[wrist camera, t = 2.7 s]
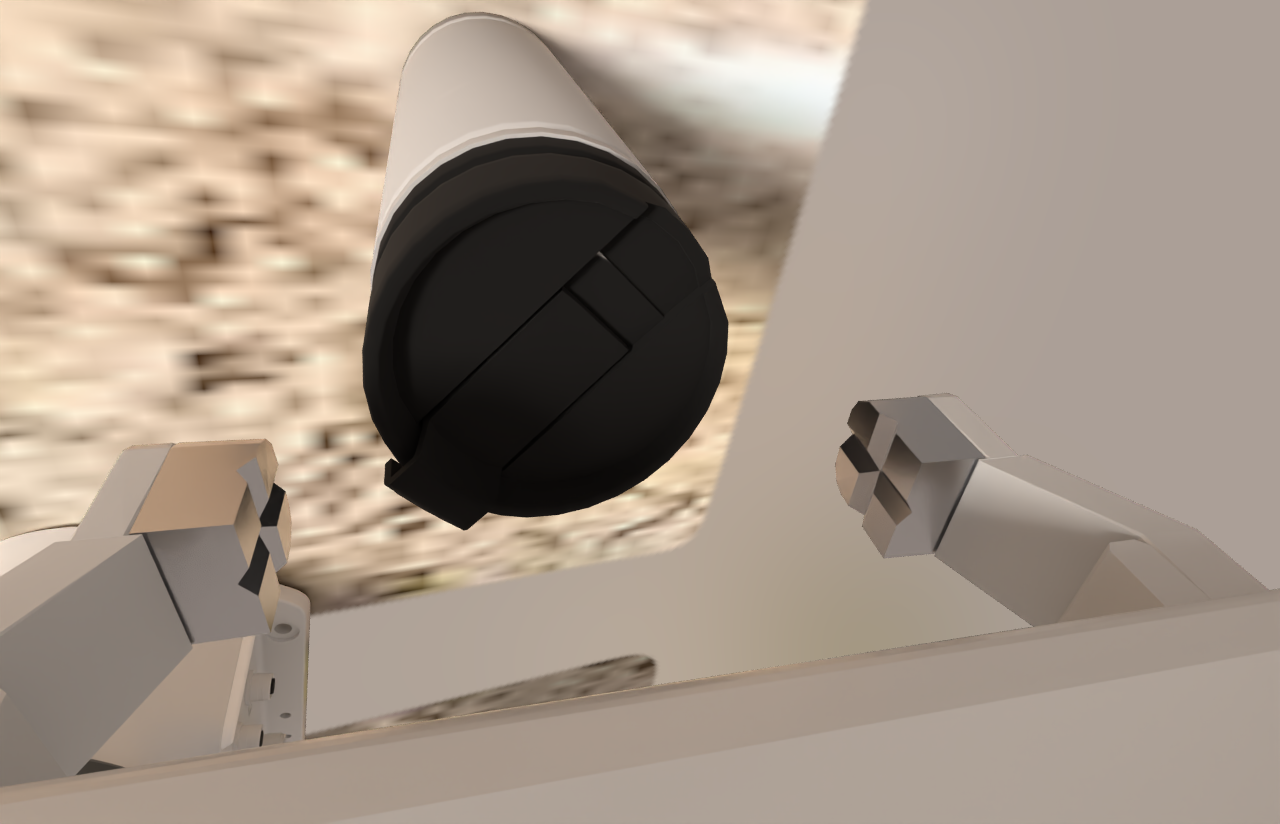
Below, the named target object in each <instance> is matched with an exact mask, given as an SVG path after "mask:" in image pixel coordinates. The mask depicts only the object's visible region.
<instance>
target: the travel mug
mask: <svg viewBox="0 0 1280 824" xmlns="http://www.w3.org/2000/svg"><path fill="white" fill-rule="evenodd" d="M727 342H728V320H727V317H726V313H725V310H724V307H723V304H722V301H721V298H720V295H719V292H718V289H717V286H716V283H715V281H714V280H713V279H712V278H711V273H710V266H709V259H708V257H707V255H706V254H705V252H704V251H703V249H702V248H701V246H700V245H699V243H698V242H697V240H696V239H695V238H694V236H693V235H692V233H691V232H690V230H689V229H688V228H687V226H686V225H685V224H684V222H683V221H682V220H681V218H680V217H679V216H678V214H677V212H676V210H675V209H674V207H673V206H672V204H671V203H670V202H669V200H668V199H667V197H666V196H665V194H664V193H663V191H662V190H661V188H660V187H659V186H658V184H657V183H656V182H655V181H654V180H653V179H652V177H651V176H650V175H649V173H648V172H647V171H646V169H645V168H644V167H643V166H642V164H641V163H640V162H639V161H638V159H637V158H636V157H635V156H634V154H633V153H632V152H631V151H630V150H629V148H628V147H627V146H626V145H625V143H624V142H623V141H622V140H621V138H620V137H619V136H618V135H617V133H616V132H615V131H614V130H613V128H612V127H611V126H610V125H609V123H608V122H607V121H606V120H605V118H604V117H603V116H602V115H601V113H600V112H599V111H598V110H597V108H596V107H595V106H594V105H593V104H592V102H591V101H590V100H589V99H588V97H587V96H586V95H585V94H584V92H583V91H582V90H581V89H580V87H579V86H578V85H577V84H576V82H575V81H574V80H573V79H572V77H571V76H570V75H569V74H568V72H567V71H566V70H565V69H564V67H563V66H562V65H561V64H560V63H559V61H558V60H557V59H556V58H555V56H554V55H553V54H552V53H551V51H550V50H549V49H548V48H547V46H546V45H545V44H544V43H543V42H542V41H541V40H540V39H539V38H538V37H537V36H536V35H535V34H534V33H533V32H531V31H530V30H528V29H527V28H525V27H524V26H522V25H521V24H519V23H518V22H516V21H513V20H511V19H509V18H506V17H504V16H501V15H496V14H491V13H485V12H473V13H463V14H459V15H455V16H452V17H448V18H447V19H445V20H443V21H441V22H439V23H437V24H435V25H433V26H432V27H431V28H430V29H429V30H428V31H427V32H425V33H424V34H423V35H422V36H421V37H420V38H419V40H418V41H417V42H416V44H415V45H414V46H413V48H412V49H411V51H410V53H409V55H408V57H407V60H406V62H405V64H404V66H403V71H402V75H401V80H400V86H399V93H398V98H397V105H396V111H395V118H394V124H393V131H392V137H391V143H390V150H389V156H388V163H387V169H386V176H385V182H384V188H383V195H382V201H381V208H380V214H379V221H378V227H377V233H376V240H375V246H374V253H373V260H372V265H371V296H370V302H369V309H368V316H367V323H366V330H365V336H364V343H363V350H362V356H363V387H364V391H365V395H366V399H367V402H368V406H369V410H370V414H371V417H372V420H373V422H374V424H375V426H376V428H377V430H378V431H379V433H380V435H381V437H382V439H383V441H384V443H385V444H386V445H387V447H388V448H389V449H390V451H391V452H392V454H393V455H394V456H395V458H396V459H397V461H398V462H399V463H398V462H396V461H395V460H393V459H390V460H389V461H388V462H387V463H386V464H385V478H384V484H385V485H386V486H387V487H389V488H390V489H392V490H393V491H395V492H396V493H397V494H399V495H400V496H402V497H404V498H405V499H407V500H408V501H410V502H412V503H413V504H415V505H417V506H418V507H420V508H422V509H423V510H425V511H427V512H429V513H431V514H433V515H435V516H437V517H438V518H440V519H442V520H444V521H446V522H448V523H450V524H452V525H454V526H456V527H458V528H460V529H462V530H468V529H469V528H470V527H471V526H472V525H474V524H475V523H476V522H477V521H478V520H479V519H481V518H482V517H483V516H484V515H485V514H487V513H488V512H489V513H493V514H498V515H503V516H515V517H538V516H551V515H560V514H564V513H568V512H572V511H576V510H581V509H585V508H589V507H591V506H594V505H596V504H599V503H601V502H604V501H606V500H609V499H611V498H614V497H616V496H618V495H620V494H622V493H623V492H625V491H627V490H628V489H630V488H632V487H634V486H635V485H637V484H639V483H640V482H642V481H644V480H645V479H646V478H648V477H649V476H650V475H651V474H653V473H654V472H655V471H656V470H658V469H659V468H660V467H661V466H663V465H664V464H665V463H666V462H667V461H669V460H670V459H671V457H672V456H673V455H674V454H675V453H676V452H677V451H678V450H679V449H680V448H681V447H682V445H683V444H684V443H685V442H686V441H687V440H688V439H689V438H690V436H691V435H692V433H693V432H694V430H695V429H696V427H697V426H698V424H699V423H700V421H701V420H702V418H703V417H704V415H705V414H706V412H707V410H708V408H709V406H710V404H711V401H712V399H713V397H714V395H715V392H716V390H717V388H718V386H719V383H720V380H721V375H722V371H723V367H724V363H725V359H726V355H727Z"/></svg>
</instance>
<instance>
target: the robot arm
mask: <svg viewBox="0 0 1280 824" xmlns="http://www.w3.org/2000/svg"><path fill="white" fill-rule="evenodd" d="M847 424H848V426H849V428H850V430H851V432H852V435H851V436H850V437H849V438H848V439H847V440H846V441H845V443H843V444H842V445H841V446H840V448H839V452H838V456H837V460H836V463H835V467H836V481H837V484H838V487H839V490H840V493H841V495H842V497H843V498H844V499H845V501H846V503H847V504H848V506H850V507H852V508H853V509H855V510H857V511H859V512H860V513H862V514H864V519H863V524H862V527H863V528H864V530H865V531H866V533H867V534H868V536H869V537H870V539H871V540H872V542H873V543H874V545H875V546H876V548H877V549H878V551H879V552H880V554H881V555H882V557H883V558H891V557H902V556H912V555H923V554H934V553H935V557H937V558H938V559H939V560H941V561H942V562H943V563H945V564H946V565H948V566H949V567H950V568H952V569H953V570H955V571H956V572H957V573H959V574H960V575H962V576H963V577H965V578H966V579H967V580H969V581H970V582H971V583H973V584H974V585H976V586H977V587H979V588H980V589H981V590H983V591H984V592H986V593H987V594H988V595H990V596H991V597H993V598H994V599H995V600H997V601H998V602H1000V603H1001V604H1003V605H1004V606H1005V607H1007V608H1008V609H1009V610H1011V611H1012V612H1014V613H1015V614H1017V615H1018V616H1019V617H1021V618H1022V619H1024V620H1025V621H1026V622H1028V623H1029V624H1030V625H1032V626H1033V627H1028V628H1022V629H1015V630H1010V631H1002V632H997V633H989V634H983V635H977V636H971V637H964V638H957V639H951V640H945V641H939V642H931V643H925V644H918V645H913V646H906V647H900V648H893V649H886V650H880V651H873V652H867V653H861V654H854V655H848V656H841V657H835V658H828V659H822V660H815V661H809V662H802V663H797V664H790V665H783V666H777V667H771V668H764V669H757V670H751V671H745V672H738V673H731V674H725V675H719V676H713V677H706V678H699V679H694V680H687V681H680V682H674V683H667V684H661V685H654V686H648V687H641V688H635V689H628V690H622V691H616V692H609V693H603V694H596V695H590V696H583V697H577V698H570V699H564V700H558V701H551V702H545V703H538V704H532V705H525V706H519V707H512V708H506V709H500V710H493V711H487V712H480V713H474V714H467V715H461V716H455V717H448V718H442V719H435V720H429V721H422V722H416V723H409V724H403V725H397V726H390V727H384V728H377V729H371V730H364V731H358V732H352V733H345V734H339V735H332V736H326V737H319V738H313V739H306V740H304V739H305V728H306V703H307V679H308V654H309V629H310V600H309V598H308V597H307V596H306V595H305V594H304V593H302V592H300V591H298V590H296V589H293V588H291V587H287V586H284V585H281V584H279V582H278V579H277V575H276V572H277V571H278V570H279V569H281V568H282V567H283V566H284V565H285V564H286V563H287V561H288V556H289V551H290V546H291V524H292V523H291V515H290V507H289V503H288V499H287V495H286V491H284V490H283V489H282V488H280V487H279V486H278V485H276V484H275V483H273V482H274V478H275V475H276V471H277V467H278V462H277V459H276V456H275V453H274V450H273V446H272V444H271V443H270V442H269V441H268V440H267V439H250V440H227V441H205V442H183V443H178V444H174V443H166V444H150V445H134V446H131V447H129V448H127V449H125V450H123V451H122V452H121V453H120V455H119V457H118V459H117V460H116V462H115V464H114V465H113V467H112V469H111V471H110V472H109V474H108V476H107V478H106V479H105V481H104V483H103V484H102V486H101V488H100V490H99V491H98V493H97V495H96V497H95V498H94V500H93V502H92V503H91V505H90V507H89V509H88V510H87V512H86V514H85V516H84V517H83V519H82V521H81V522H80V524H79V526H78V527H65V528H54V529H46V530H40V531H34V532H30V533H25V534H21V535H18V536H14V537H10V538H7V539H5V540H2V541H0V824H1280V589H1273V590H1269V589H1267V588H1266V587H1265V586H1264V585H1263V584H1261V583H1260V582H1259V581H1258V580H1257V579H1255V578H1254V577H1253V576H1252V575H1251V574H1250V573H1248V572H1247V571H1246V570H1245V569H1244V568H1242V567H1241V566H1240V565H1239V564H1238V563H1236V562H1235V561H1234V560H1233V559H1232V558H1231V557H1230V556H1228V555H1227V554H1226V553H1225V552H1224V551H1222V550H1221V549H1220V548H1219V547H1218V546H1216V545H1215V544H1214V543H1213V542H1212V541H1211V540H1209V539H1208V538H1207V537H1206V536H1205V535H1203V534H1202V533H1201V532H1200V531H1199V530H1197V529H1195V528H1193V527H1190V526H1188V525H1186V524H1184V523H1181V522H1179V521H1177V520H1174V519H1172V518H1170V517H1168V516H1165V515H1163V514H1161V513H1159V512H1156V511H1154V510H1152V509H1150V508H1147V507H1145V506H1143V505H1140V504H1138V503H1136V502H1134V501H1131V500H1129V499H1127V498H1124V497H1122V496H1120V495H1118V494H1115V493H1113V492H1111V491H1109V490H1106V489H1104V488H1102V487H1099V486H1097V485H1095V484H1093V483H1090V482H1088V481H1085V480H1083V479H1081V478H1079V477H1077V476H1074V475H1072V474H1070V473H1068V472H1065V471H1063V470H1061V469H1058V468H1056V467H1054V466H1052V465H1049V464H1047V463H1045V462H1042V461H1040V460H1038V459H1035V458H1033V457H1031V456H1028V455H1023V456H1019V455H1018V454H1016V453H1015V452H1014V450H1012V449H1011V448H1010V447H1009V446H1008V445H1007V444H1006V443H1005V442H1004V441H1003V440H1002V439H1001V438H1000V437H999V436H998V435H997V434H996V433H995V432H994V431H993V430H992V429H991V428H989V426H988V425H987V424H986V423H984V422H983V421H982V420H981V419H980V418H979V417H978V416H977V415H976V414H975V413H974V412H973V411H972V410H971V409H970V408H969V407H968V406H967V405H966V404H965V403H964V402H963V401H962V400H961V399H960V398H959V397H957V396H954V395H951V394H949V393H944V394H933V395H923V396H918V397H911V398H896V399H884V400H883V399H882V400H868V401H858V403H857V404H856V405H855V406H854V408H853V409H852V411H851V414H850V417H849V420H848V423H847Z"/></svg>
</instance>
